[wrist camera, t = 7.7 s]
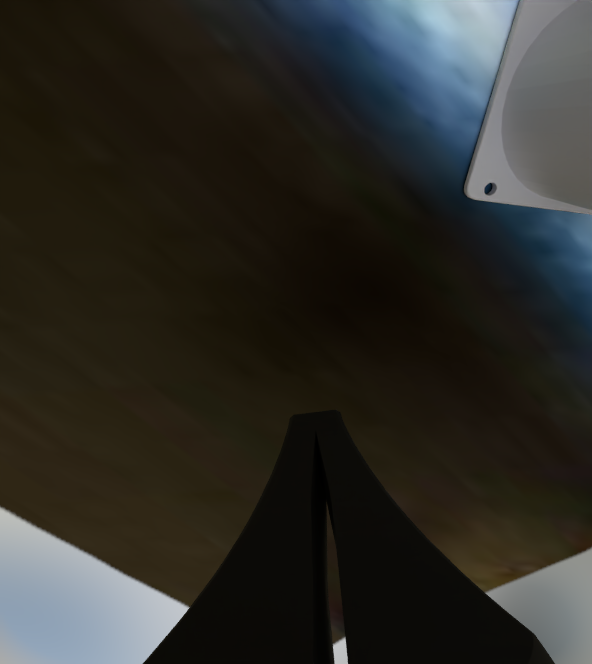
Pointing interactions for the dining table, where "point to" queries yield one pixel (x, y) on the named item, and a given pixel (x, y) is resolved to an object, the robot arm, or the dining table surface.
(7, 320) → the dining table surface
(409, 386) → the dining table surface
